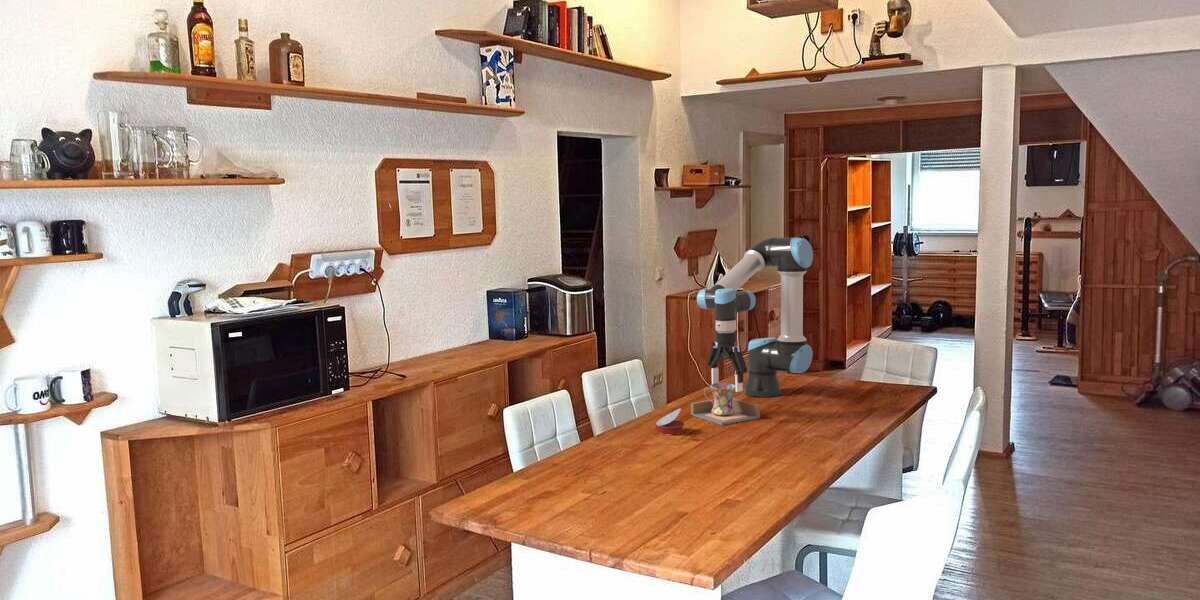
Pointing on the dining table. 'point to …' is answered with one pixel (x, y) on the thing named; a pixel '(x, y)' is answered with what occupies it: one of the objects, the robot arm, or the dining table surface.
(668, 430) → the canned food
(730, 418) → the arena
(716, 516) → the dining table surface
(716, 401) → the mug
